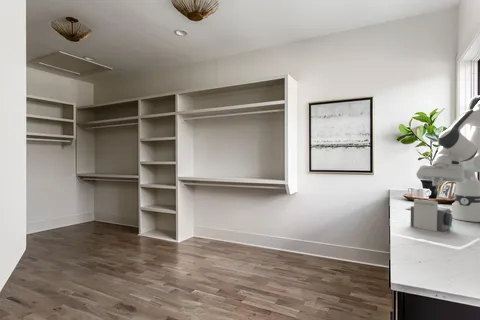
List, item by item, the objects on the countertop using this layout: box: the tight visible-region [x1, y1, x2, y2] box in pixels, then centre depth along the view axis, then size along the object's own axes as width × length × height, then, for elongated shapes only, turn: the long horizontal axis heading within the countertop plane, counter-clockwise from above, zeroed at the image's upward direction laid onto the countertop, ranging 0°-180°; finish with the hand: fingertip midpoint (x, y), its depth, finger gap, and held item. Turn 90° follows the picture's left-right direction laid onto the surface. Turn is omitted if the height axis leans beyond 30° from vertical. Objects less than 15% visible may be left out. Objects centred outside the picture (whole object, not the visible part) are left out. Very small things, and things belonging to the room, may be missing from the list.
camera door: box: [413, 198, 439, 232], centre depth 140 cm, size 2×10×14 cm, turn 36°
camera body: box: [410, 205, 453, 233], centre depth 143 cm, size 9×16×11 cm, turn 36°
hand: (435, 185), depth 144 cm, fingers closed
